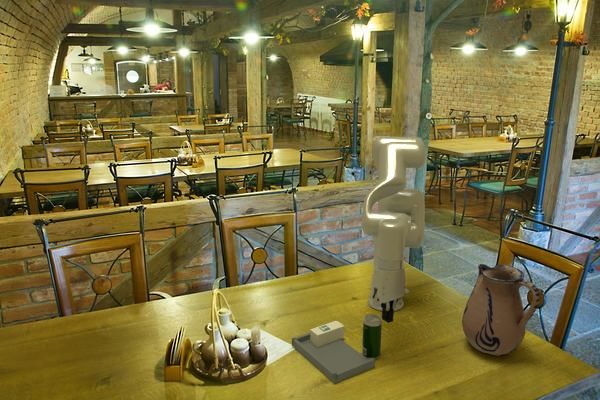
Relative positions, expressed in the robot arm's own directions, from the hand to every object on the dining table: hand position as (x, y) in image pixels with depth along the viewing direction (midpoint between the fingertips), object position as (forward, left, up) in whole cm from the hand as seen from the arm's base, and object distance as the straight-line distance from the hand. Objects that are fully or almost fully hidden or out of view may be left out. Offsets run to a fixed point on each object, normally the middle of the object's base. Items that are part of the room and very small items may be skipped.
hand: (387, 320), depth 144 cm
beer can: (+6, 0, -10) cm, 11 cm away
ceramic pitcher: (-28, +18, -10) cm, 35 cm away
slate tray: (+16, -6, -10) cm, 19 cm away
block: (+7, -13, -7) cm, 17 cm away
